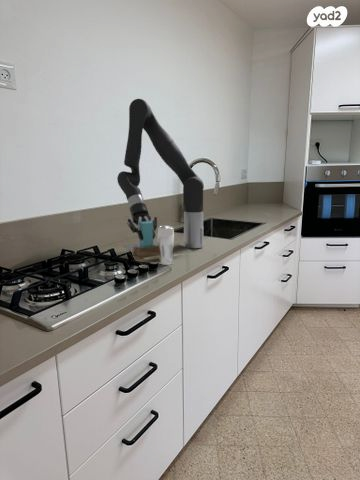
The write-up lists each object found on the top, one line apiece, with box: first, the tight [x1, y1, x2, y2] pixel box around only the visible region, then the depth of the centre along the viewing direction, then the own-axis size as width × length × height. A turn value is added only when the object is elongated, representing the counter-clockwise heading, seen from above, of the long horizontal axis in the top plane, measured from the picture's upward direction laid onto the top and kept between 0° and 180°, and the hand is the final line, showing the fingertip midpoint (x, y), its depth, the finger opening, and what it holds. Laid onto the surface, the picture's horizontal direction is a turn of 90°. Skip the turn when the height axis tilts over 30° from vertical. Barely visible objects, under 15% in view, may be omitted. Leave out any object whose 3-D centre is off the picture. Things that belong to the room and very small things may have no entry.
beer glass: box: [156, 225, 175, 266], centre depth 139 cm, size 7×7×15 cm
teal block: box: [139, 220, 154, 248], centre depth 149 cm, size 4×4×12 cm
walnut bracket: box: [124, 243, 159, 263], centre depth 149 cm, size 16×16×5 cm
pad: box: [122, 243, 140, 251], centre depth 164 cm, size 10×10×1 cm
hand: (147, 238), depth 147 cm, fingers closed on teal block, 4 cm apart
